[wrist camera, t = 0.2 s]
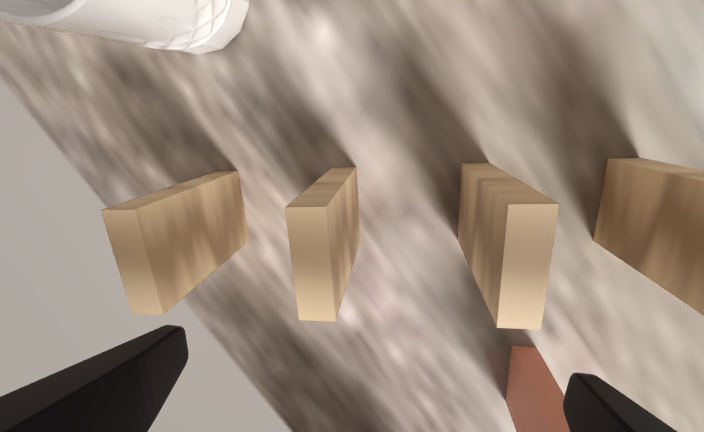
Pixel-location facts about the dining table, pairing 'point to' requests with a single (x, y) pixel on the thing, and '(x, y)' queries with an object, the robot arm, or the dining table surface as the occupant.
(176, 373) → the robot arm
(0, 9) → the white cup
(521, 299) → the domino
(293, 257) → the domino
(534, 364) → the domino
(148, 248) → the domino
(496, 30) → the dining table surface
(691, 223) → the domino
